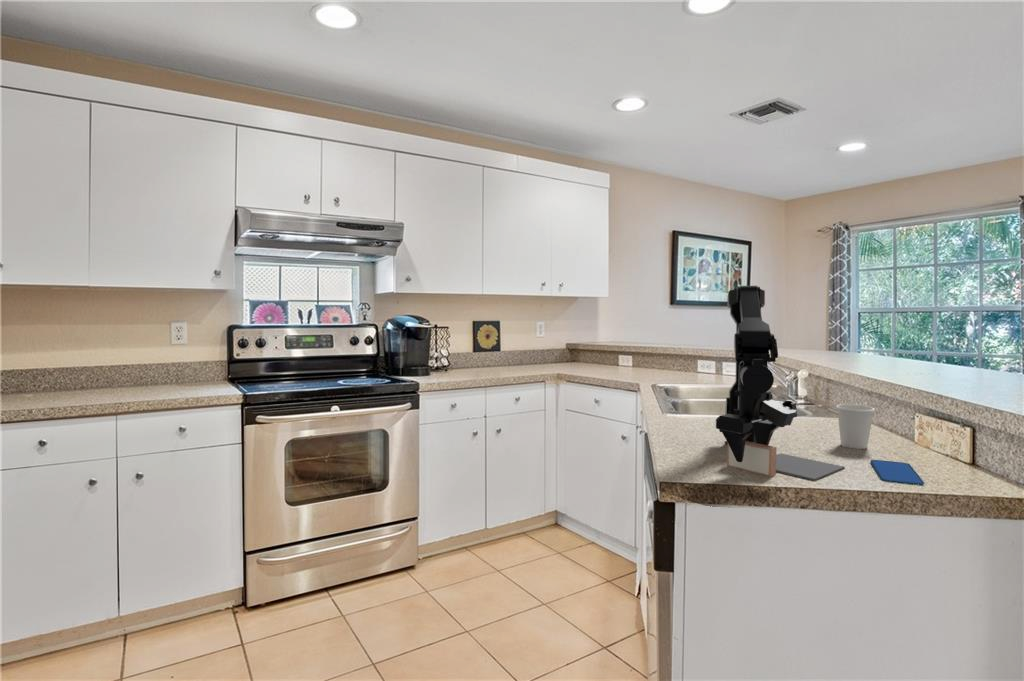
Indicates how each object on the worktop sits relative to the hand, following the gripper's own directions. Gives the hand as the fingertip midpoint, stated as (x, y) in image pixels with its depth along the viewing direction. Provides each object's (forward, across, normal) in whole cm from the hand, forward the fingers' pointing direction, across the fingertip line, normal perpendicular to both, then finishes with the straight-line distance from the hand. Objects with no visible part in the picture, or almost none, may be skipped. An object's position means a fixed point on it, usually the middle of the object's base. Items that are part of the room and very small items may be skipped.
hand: (751, 458), depth 120 cm
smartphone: (+3, +22, -20) cm, 30 cm away
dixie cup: (+3, +40, -5) cm, 40 cm away
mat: (+3, +10, -5) cm, 11 cm away
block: (+3, 0, 0) cm, 3 cm away
